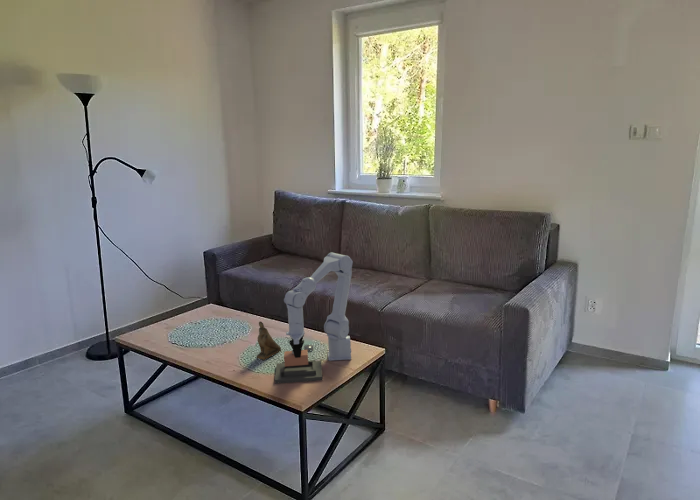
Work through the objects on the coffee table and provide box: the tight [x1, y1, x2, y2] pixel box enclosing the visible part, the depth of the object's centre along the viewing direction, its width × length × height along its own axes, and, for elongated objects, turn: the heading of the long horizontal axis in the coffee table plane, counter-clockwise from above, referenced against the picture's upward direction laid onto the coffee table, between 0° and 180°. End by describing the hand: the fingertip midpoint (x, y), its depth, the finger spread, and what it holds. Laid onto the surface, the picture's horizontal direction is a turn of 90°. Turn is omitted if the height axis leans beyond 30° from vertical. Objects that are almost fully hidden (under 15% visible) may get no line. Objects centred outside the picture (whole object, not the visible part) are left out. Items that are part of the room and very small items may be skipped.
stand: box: [274, 359, 323, 384], centre depth 196 cm, size 18×14×3 cm
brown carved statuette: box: [256, 321, 282, 361], centre depth 211 cm, size 12×6×18 cm, turn 144°
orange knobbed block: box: [283, 349, 309, 367], centre depth 194 cm, size 5×9×5 cm, turn 95°
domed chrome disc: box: [303, 344, 314, 352], centre depth 217 cm, size 4×4×2 cm
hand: (297, 354), depth 194 cm, fingers closed on orange knobbed block, 5 cm apart
